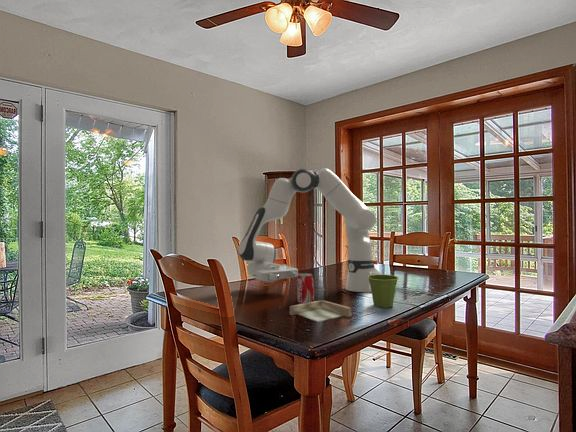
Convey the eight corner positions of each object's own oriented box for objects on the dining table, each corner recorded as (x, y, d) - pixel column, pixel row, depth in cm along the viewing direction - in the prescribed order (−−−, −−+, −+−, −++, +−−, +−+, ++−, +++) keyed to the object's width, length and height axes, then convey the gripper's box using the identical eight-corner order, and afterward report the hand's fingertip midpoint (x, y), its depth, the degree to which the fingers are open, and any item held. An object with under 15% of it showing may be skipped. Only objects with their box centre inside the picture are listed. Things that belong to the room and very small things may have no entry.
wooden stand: (322, 307, 136) (322, 299, 136) (351, 316, 124) (351, 307, 124) (289, 314, 127) (289, 306, 127) (317, 324, 115) (317, 315, 115)
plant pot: (361, 305, 139) (360, 276, 139) (381, 300, 146) (380, 273, 146) (385, 311, 130) (385, 280, 130) (405, 306, 137) (405, 277, 137)
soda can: (313, 306, 138) (312, 275, 138) (295, 305, 140) (295, 275, 140) (315, 302, 145) (315, 273, 145) (298, 301, 147) (298, 272, 147)
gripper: (250, 267, 158) (266, 271, 147) (287, 263, 170) (305, 267, 158) (250, 281, 158) (266, 286, 146) (287, 277, 170) (305, 281, 158)
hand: (286, 276), depth 153 cm, fingers open, 8 cm apart
